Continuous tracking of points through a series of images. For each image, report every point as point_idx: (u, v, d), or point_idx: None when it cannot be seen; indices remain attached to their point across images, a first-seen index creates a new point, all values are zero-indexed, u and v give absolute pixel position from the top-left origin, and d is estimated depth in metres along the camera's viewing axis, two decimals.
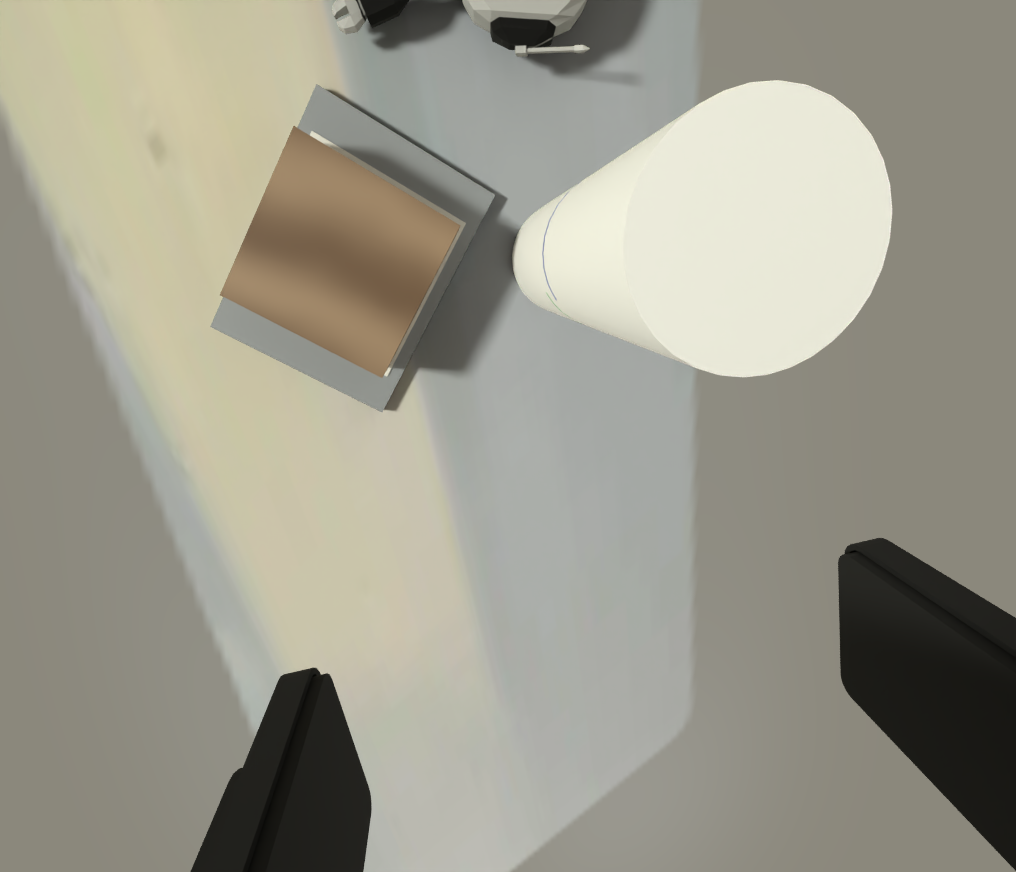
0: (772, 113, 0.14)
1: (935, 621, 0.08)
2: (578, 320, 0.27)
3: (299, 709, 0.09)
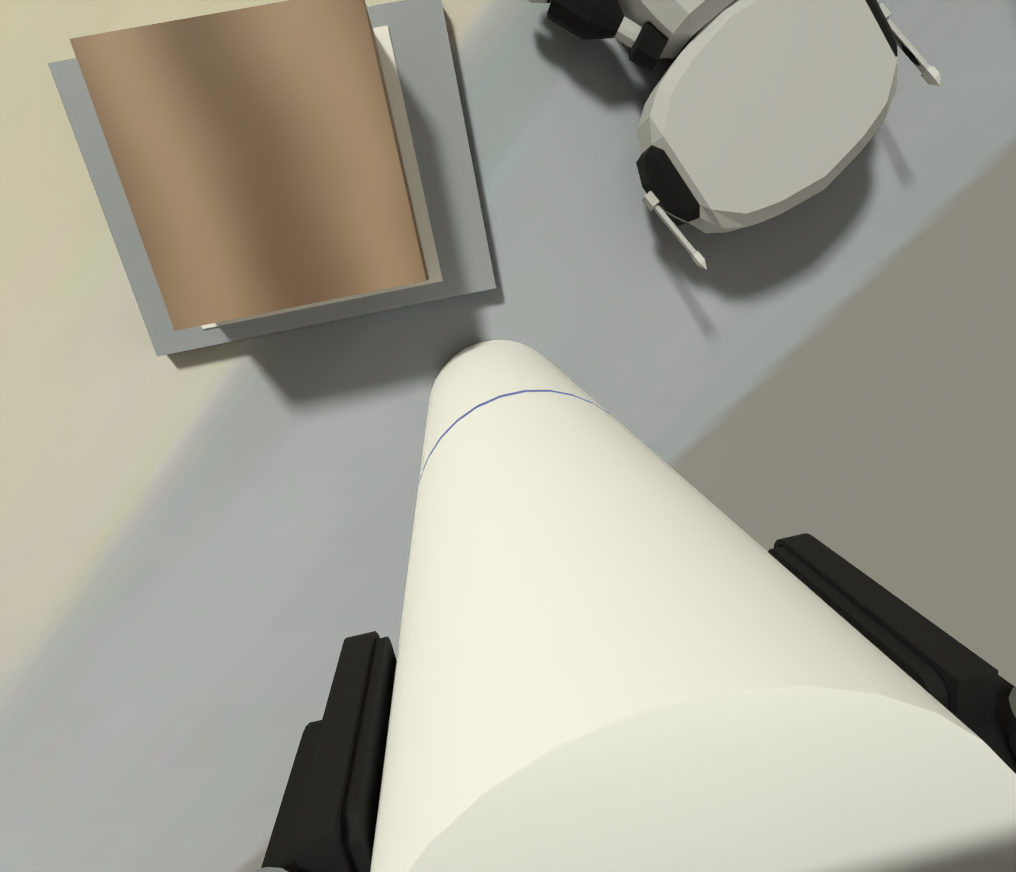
0: (954, 818, 0.05)
1: (840, 610, 0.09)
2: None
3: (367, 666, 0.09)
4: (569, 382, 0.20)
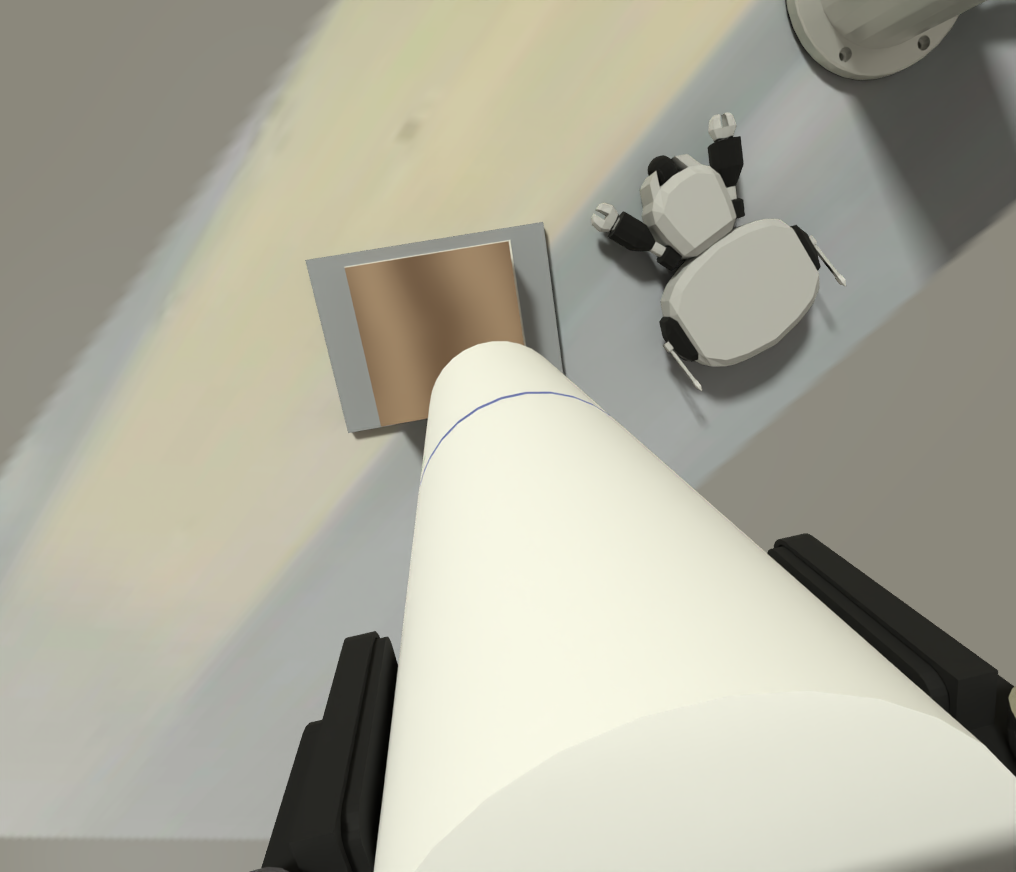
0: (955, 822, 0.05)
1: (841, 610, 0.09)
2: None
3: (367, 666, 0.09)
4: (570, 384, 0.20)
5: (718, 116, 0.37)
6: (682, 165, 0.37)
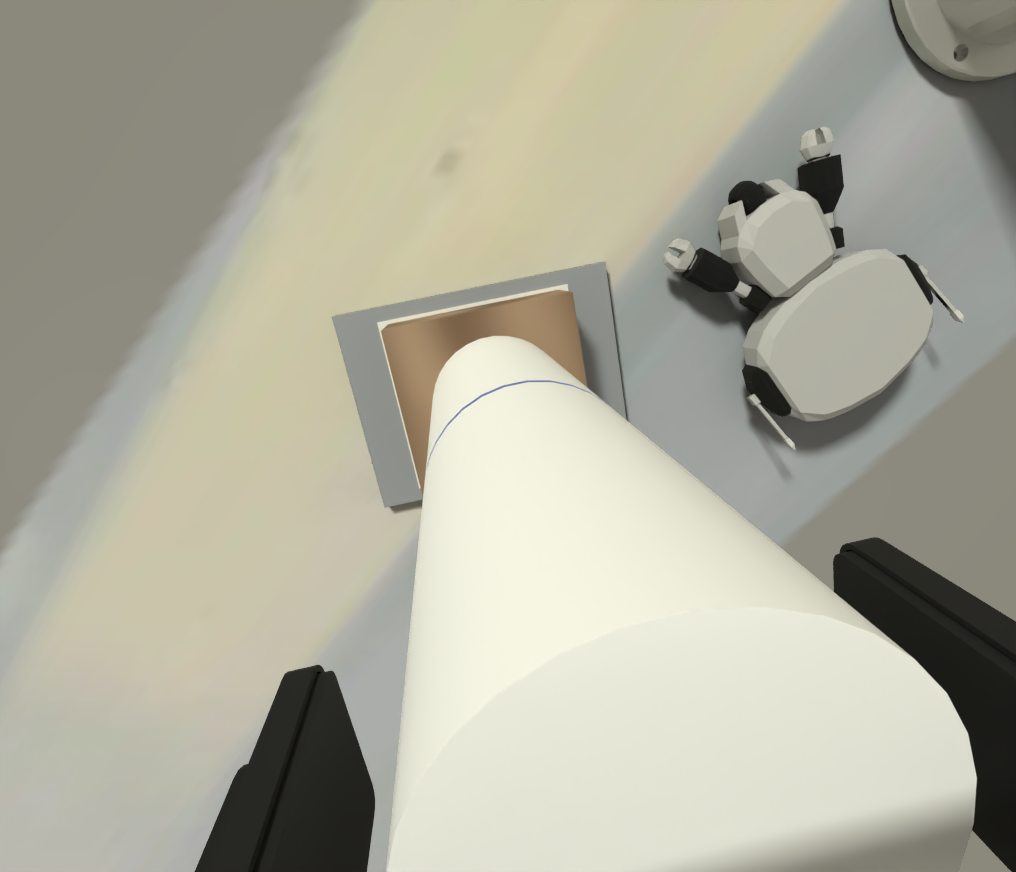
0: (892, 727, 0.06)
1: (928, 620, 0.08)
2: None
3: (304, 706, 0.09)
4: (568, 375, 0.21)
5: (813, 131, 0.31)
6: (771, 191, 0.31)
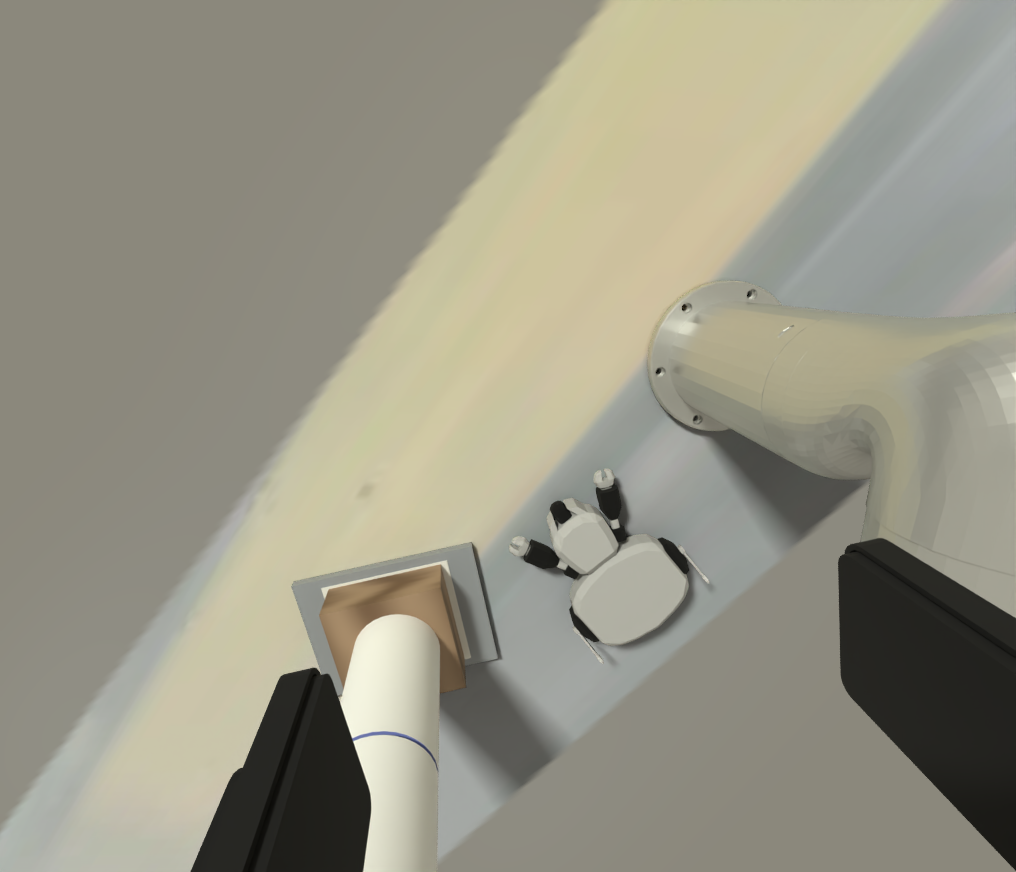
0: None
1: (935, 621, 0.08)
2: None
3: (299, 709, 0.09)
4: (408, 699, 0.38)
5: (600, 473, 0.49)
6: (574, 511, 0.49)
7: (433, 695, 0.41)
